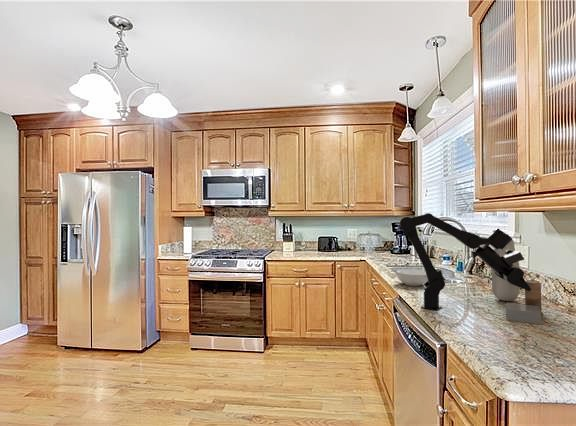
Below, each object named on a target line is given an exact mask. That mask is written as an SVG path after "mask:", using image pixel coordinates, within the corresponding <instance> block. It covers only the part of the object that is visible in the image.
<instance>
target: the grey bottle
mask: <svg viewBox="0 0 576 426" xmlns="http://www.w3.org/2000/svg"><path fill="white" fill-rule="evenodd" d="M493 250H494V251H495V252H497V253H498V254H499V255H501V256H504V255H505V251H507V250H511V251H513V252H514V251H516V248H515V241H514V239H513V240H512V241H511V242H510V243H509V244H508V245H506V246H505V247H504V248H503V249H502V250H499V249H498V250H496V249H494V248H493ZM519 262H520V261H518V262H516V263H513V266H512V267H518V268H520V269H521V267H520V263H519ZM490 270H491V271H490V273H491V275H490V276H491V291H492V293H493V295H494V297H495V298H496V299H497V300H500V301H503V302H512V301H515V300H516V299H517V298H518V296H519V295H520V291H521V290H520V289H521V288H520V287H517V286H515V285H512V284H510V283H509V282H507V281H506V280H504V279H502V278H500V277H498V276H496V275H495V274H494V273H493V272H492V268H491V267H490Z"/></svg>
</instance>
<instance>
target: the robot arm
mask: <svg viewBox="0 0 576 426" xmlns="http://www.w3.org/2000/svg"><path fill="white" fill-rule="evenodd" d="M425 224H428V225H431V226H433V227H435V228H436V229H439V230H441V231H442V232H444V233H446V234H448V235H450V236H452V237H453V238H455V239H456V240H457V241H459V242H460V243H461V244H462V245H464V246H465V247H466V248H469V249H471V250H470V252H471V253H470V254H471V255H470V257H471V258H472V259H476V258H477V257H478V258H479V259H480V260H481V261H482V262H484V263H485V265H486V266H487V267H489V268H490V269H491V268H492V272H493V273H494V274H495V275H496V276H498V277H500V278H502V279H504V280H506V281H507V282H509V283H510V284H512V285H515V286H517V287H520V289H522V290H524V291H525V290H527V291H530V290H531V288H530V287H529V285H528V284H527V283H526V280H525V278H524V276H525V271H524V270H523V269H522V268H521V267H520V268H518V267H512V266H513V263H516V262H518V261H519V262H521V261H524V260H525V258H524V256H523V255H522V253H521V251H519V250H515V251H514V252H513V251H511V250H507V251H505V255H504V256H501V255H499V254H498V253H497V252H495V251H494V249H496V250H498V249H499V250H502V249H503V248H504V247H505V246H506V245H508V244H509V243H510V242H511V241H512V240H513V241H514V239H513V238H512V237H511V236H510V235H509V234H508V233H506V232H504V231H502V230H501V229H500V228H499V227H498V228H497V227H496V228H495V229H494V230H493V231H492V232H491V234H489V235H488V236H487V237H486V236H479V235H478V234H476V233H473V232H469V231H466V230H464V229H460V228H458V227H456V226H454V225H452V224H450V223H448V222H446V221H445V220H442V219H441V218H438V217H437V216H434V215H433V214H432V213H430V212H429V213H428V212H426V213H424V214H420V215H417V216H412V217H410V216H403V217H402V218H401V219H400V220H399V226H400V228H401V229H402V231H403V232H404V234H405V235H406V237H408V239H409V241H410V243H411V245H412V247H413V248H414V250H415V252H416V255H417V256H418V258H419V260H420V263H421V265H422V267H423V268H424V271H425V272H426V276H427V280H428V281H427V282H426V283H425V284H422V288H423V289H424V291H423V305H421V306H420V308H421V309H426V310H432V311H438V310H440V309H442V308H443V305H440V293H441V291H442V290H444V288H445V287H446V282H445V281H446V277H444V276H443V273H442V270H441V269H440V267H439V268H437V269H436V268H435V266H434V264H433V263H432V260H431V258H430V256H429V254H428V252H427V250H426V249H425V247H424V245H423V243H422V241H421V239H420V236H419V233H418V229H417V227H418V226H421V225H425Z"/></svg>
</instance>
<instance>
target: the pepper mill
mask: <svg viewBox="0 0 576 426" xmlns="http://www.w3.org/2000/svg"><path fill="white" fill-rule="evenodd" d="M525 281H526V283H527V284H528V285H529V287H530V288H531V290H530V291H527V290H525V289H524V305H533V306H539V309H540V312H541V317H543V316H544V312H543V311H542V309H543V308H542V282H540V281H539V280H535V279H534V278H531V279H526V280H525Z"/></svg>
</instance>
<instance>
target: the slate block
mask: <svg viewBox="0 0 576 426" xmlns="http://www.w3.org/2000/svg"><path fill="white" fill-rule="evenodd" d="M505 306H506V307H505V317H506V321H510V322H511V321H512V322H520V323H525V324H526V323H527V324H535V325H542V316H541V312H540V309H539V306H533V305H525V303H524V304H522V303H514V302H506V304H505Z"/></svg>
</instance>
